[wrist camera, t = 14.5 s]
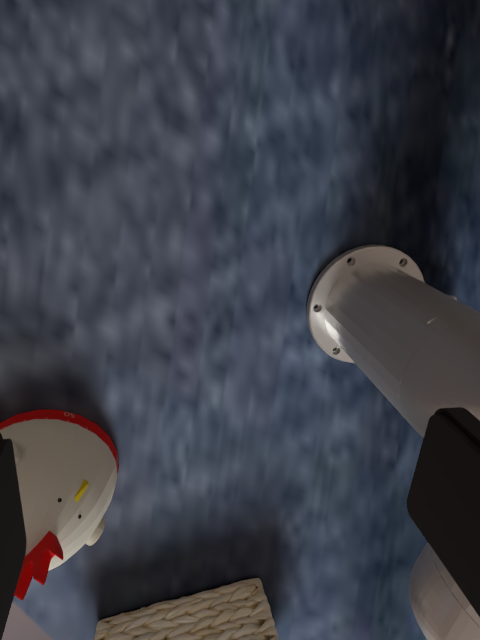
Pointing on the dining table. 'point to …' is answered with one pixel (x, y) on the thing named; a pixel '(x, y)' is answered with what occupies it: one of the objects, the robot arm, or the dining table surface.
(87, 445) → the kitchen timer
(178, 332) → the dining table surface
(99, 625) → the storage basket
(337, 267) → the robot arm
